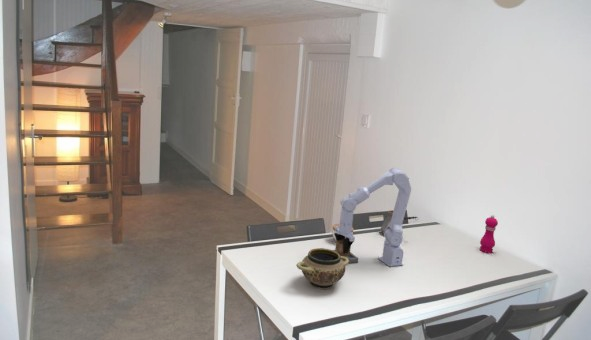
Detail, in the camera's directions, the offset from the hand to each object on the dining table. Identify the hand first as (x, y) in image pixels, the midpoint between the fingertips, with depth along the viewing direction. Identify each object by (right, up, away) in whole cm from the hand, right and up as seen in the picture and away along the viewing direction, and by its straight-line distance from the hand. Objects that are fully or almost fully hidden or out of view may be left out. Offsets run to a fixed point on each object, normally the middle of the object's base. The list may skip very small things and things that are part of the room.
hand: (342, 250), depth 211 cm
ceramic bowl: (-11, -9, -26) cm, 30 cm away
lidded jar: (+2, 0, +23) cm, 23 cm away
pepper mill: (+79, -6, +30) cm, 84 cm away
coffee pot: (+34, 0, +37) cm, 50 cm away
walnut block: (0, -2, 0) cm, 2 cm away
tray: (0, -4, +1) cm, 4 cm away
